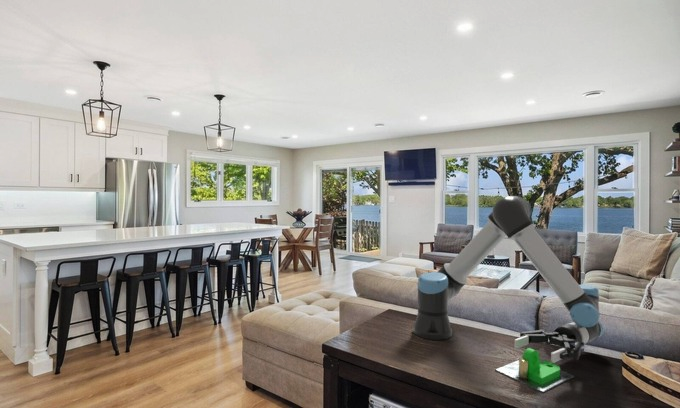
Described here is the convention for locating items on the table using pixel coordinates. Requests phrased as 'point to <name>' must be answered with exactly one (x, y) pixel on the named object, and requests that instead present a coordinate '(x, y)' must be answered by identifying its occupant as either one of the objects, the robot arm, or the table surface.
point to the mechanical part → (540, 368)
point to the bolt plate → (520, 373)
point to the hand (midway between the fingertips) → (533, 350)
